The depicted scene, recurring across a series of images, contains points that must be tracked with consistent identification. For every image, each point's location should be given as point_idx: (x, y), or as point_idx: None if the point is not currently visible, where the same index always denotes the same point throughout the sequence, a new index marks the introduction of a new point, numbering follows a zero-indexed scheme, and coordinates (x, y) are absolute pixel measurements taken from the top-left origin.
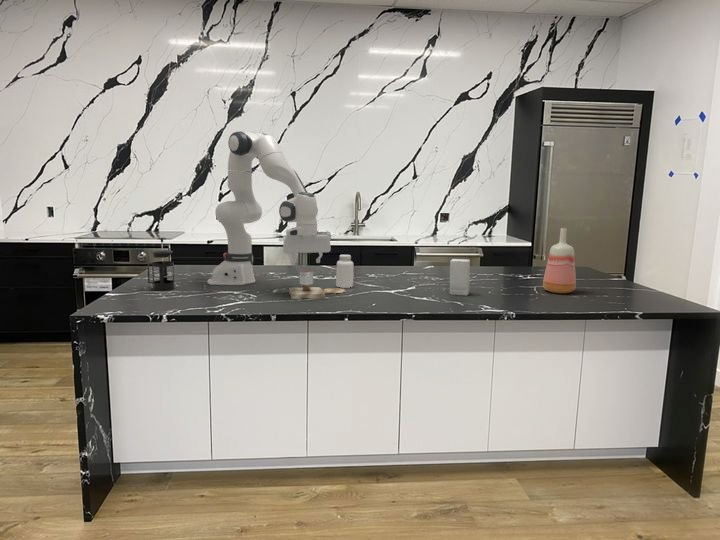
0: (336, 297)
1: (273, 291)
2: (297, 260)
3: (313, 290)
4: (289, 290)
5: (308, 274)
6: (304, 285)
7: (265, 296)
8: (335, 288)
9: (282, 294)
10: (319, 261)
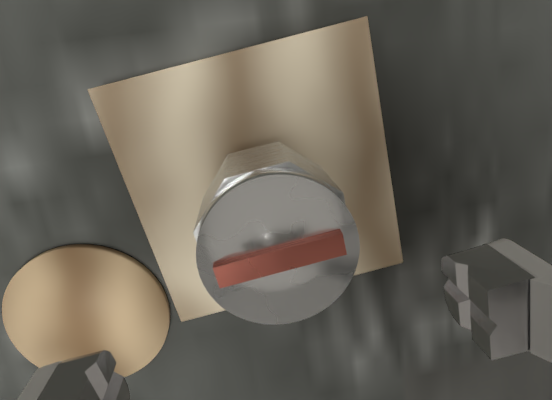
0: (15, 126)
1: None
2: (485, 277)
3: None
4: (392, 211)
5: (242, 179)
6: None
7: (543, 94)
8: None
9: (429, 177)
10: (40, 376)
